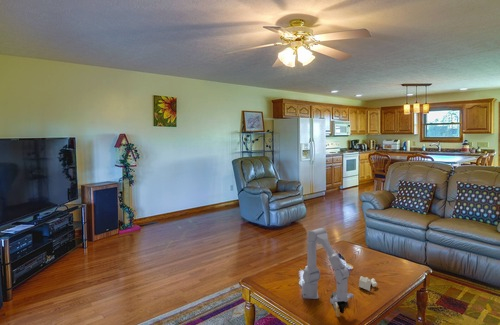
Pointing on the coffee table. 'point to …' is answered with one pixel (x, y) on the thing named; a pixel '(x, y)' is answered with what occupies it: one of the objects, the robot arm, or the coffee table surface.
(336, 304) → the door
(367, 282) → the figurine
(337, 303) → the case
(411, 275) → the coffee table surface
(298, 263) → the coffee table surface
